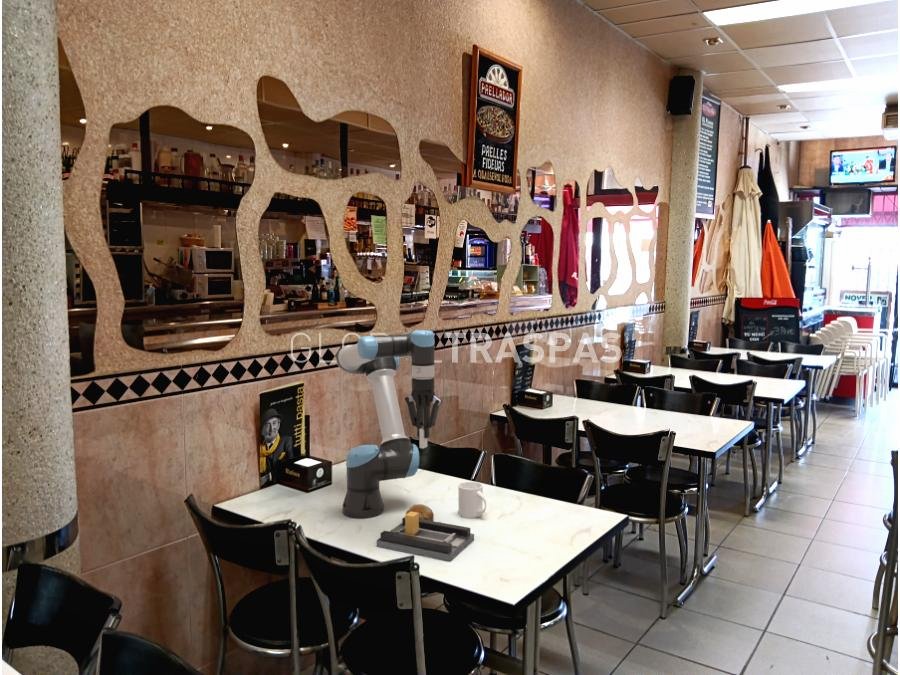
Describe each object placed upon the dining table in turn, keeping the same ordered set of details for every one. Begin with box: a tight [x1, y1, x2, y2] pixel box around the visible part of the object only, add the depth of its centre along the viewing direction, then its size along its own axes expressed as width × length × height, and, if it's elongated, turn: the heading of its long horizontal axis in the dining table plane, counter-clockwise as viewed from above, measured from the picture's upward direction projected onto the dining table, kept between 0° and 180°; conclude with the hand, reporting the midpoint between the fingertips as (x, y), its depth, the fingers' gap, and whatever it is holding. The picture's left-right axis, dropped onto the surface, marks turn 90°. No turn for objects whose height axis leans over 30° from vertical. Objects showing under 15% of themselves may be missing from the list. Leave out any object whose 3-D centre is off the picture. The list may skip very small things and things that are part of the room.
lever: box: [404, 512, 419, 535], centre depth 226 cm, size 3×4×7 cm
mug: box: [457, 481, 487, 519], centre depth 248 cm, size 9×12×11 cm
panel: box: [376, 516, 475, 562], centre depth 225 cm, size 26×18×4 cm
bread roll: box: [405, 504, 435, 521], centre depth 243 cm, size 10×10×8 cm
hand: (423, 447), depth 233 cm, fingers closed
